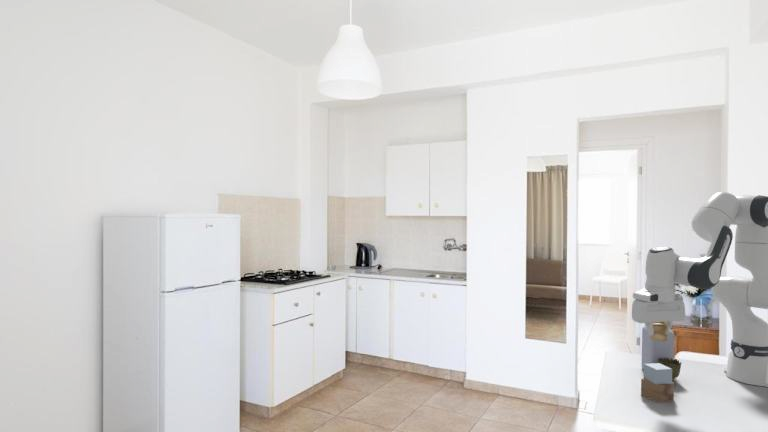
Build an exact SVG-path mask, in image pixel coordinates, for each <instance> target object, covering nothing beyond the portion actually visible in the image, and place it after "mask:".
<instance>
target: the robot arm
mask: <svg viewBox="0 0 768 432" xmlns="http://www.w3.org/2000/svg"><path fill="white" fill-rule="evenodd" d="M731 225H734V226H736V228H735V236H734V261H735V263H736V264H737V265H738V266H739V267H742V268H743V269H745V270H747V271H748V272H750V274H751V276H752V278H749V277H741V276H731V275H730V276H722V269H723V267H724V263H725V262H726V259H727V255H728V253H729V251H730V248H731V245H732V241H733V230H732V229H731V228H730V227H731ZM691 227H692V229H693V231H694V232H695V234H696V235H697V236H698V237H699V238H700V239H702V240H704V241H706V242H710V245H709V247H708V249H707V252H706V255H705V256H703V257H699V258H695V257H694V258H693V257H684V256H681V255H678V254H677V253H675V250H674V249H673V248H672V247H669V246H657V247H651V248H650V249H649V250H648V251H647V255H646V259H645V260H646V261H645V275H646V279H645V283H644V287H643V288H640V289H639V290H637V291H635V292H633V293H632V299H634V300H633V302H632V306H631V318H632V321H633V322H635V323H637V324H638V323H639V324H644V325H645V326H646V328H647V329H648V335H655V330H653V328H652V326H653V322H664V323H665V325H667V334H669V333H670V330H671V328H672V326H673V325H674V323H673V322H680V321H681V322H682V321H685V318H686V306H685V302H684V298H683V296H682V295H681V294H680V293H676V292H675V291H676V285H675V284H677V285H682V286H687V287H693V288H695V289H696V288H697V289H700V290H704V291H705V290H710V289H711V294H712V296H713V297H714V298H715V299H716V301H718V302H719V303H720V304H722V306H723V307H724V308H725V310H727V313H728V314H729V318H730V319H731V326H732V329H731V330H732V339H731V342H730V349H731V351H729V352H728V357H727V364H726V368H724V370H723V372H724V373H726V376H727V377H728V378H729V379H731V380H734V381H736V382H739V383H743V384H748V385H753V386H759V387H767V388H768V322H766V321H765V319H763V318H761V317H760V316H758V315H756V314H755V313H754V312H753V310H752V309H751V308H755V309H756V308H757V309H761V310H762V309H764V310H768V196H765V195H760V194H759V195H752V194H751V195H749V194H747V195H745V194H741V195H740V194H739V195H734V194H732V193H729V192H725V191H719V192H716V193H714V194H712V195H711V196H710V197H709V198H707V199H706V201H705V202H704V203H702V205H701V207H700V208H699V209H698V210H697V212H696V213H695V214H694V216H693V217H692V221H691Z"/></svg>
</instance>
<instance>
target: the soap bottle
mask: <svg viewBox="0 0 768 432" xmlns="http://www.w3.org/2000/svg"><path fill="white" fill-rule="evenodd" d="M653 323H660V324H665V323H664V322H653ZM664 357H665V358H666V359H667V358H669V359H670V360H671V358H672V359H673V360H674V359H675V332H674V331H673V330H672V329H670V333H669V334H667V341H656V340H652V339H650V335H648V329H647V328H646V326H642V328H641V369H642V370H644V364H650V363H659V361H658V359H659V358H660V359H661V358H663V359H664Z"/></svg>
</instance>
